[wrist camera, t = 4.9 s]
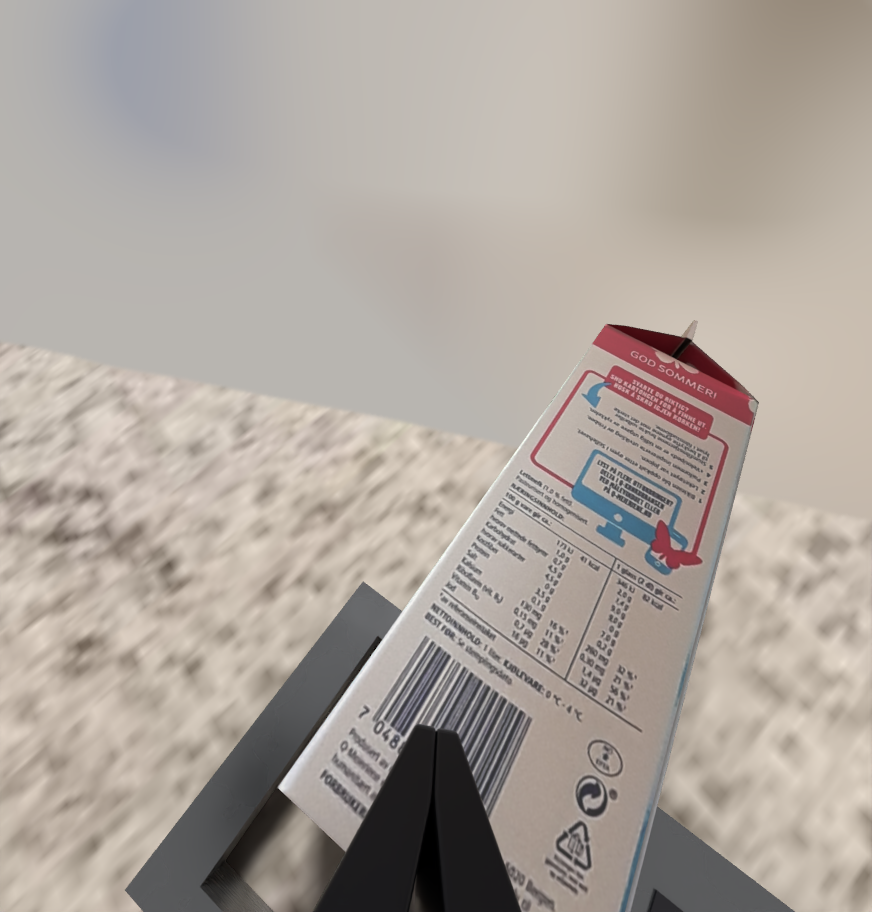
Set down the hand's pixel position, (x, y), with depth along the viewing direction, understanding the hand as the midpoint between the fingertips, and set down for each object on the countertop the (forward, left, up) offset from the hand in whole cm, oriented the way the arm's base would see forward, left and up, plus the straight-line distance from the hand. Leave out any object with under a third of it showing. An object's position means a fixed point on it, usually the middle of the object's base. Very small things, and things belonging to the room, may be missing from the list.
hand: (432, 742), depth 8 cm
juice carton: (-3, -1, -4) cm, 5 cm away
